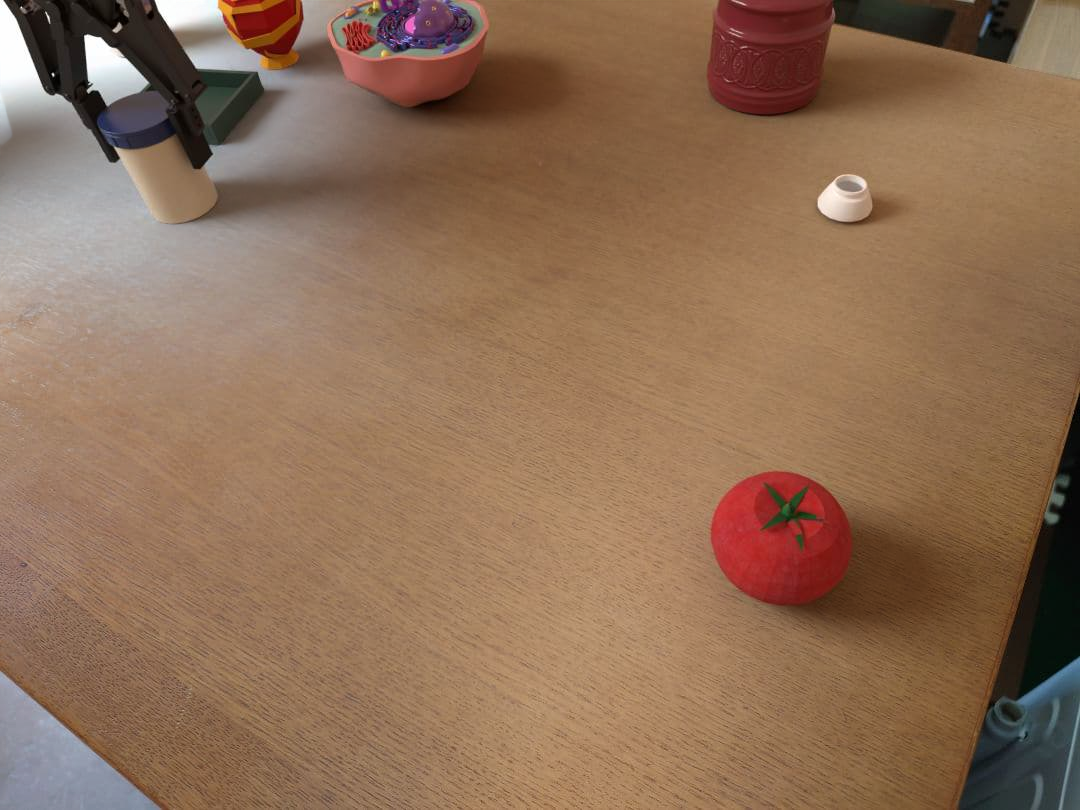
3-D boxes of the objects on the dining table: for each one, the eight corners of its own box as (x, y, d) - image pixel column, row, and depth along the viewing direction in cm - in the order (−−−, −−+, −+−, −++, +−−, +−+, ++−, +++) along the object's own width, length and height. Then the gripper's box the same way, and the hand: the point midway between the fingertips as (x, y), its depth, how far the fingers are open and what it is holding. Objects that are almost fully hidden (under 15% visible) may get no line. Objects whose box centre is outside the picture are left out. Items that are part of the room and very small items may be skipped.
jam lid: (90, 146, 76) (80, 131, 75) (132, 104, 81) (124, 88, 80) (159, 151, 75) (151, 136, 73) (198, 108, 79) (191, 92, 78)
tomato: (825, 644, 49) (856, 588, 43) (690, 598, 52) (700, 539, 46) (848, 529, 54) (878, 465, 48) (723, 493, 57) (737, 427, 51)
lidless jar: (817, 223, 75) (871, 227, 74) (823, 198, 73) (879, 201, 72) (816, 192, 78) (868, 195, 77) (822, 166, 76) (876, 169, 75)
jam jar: (138, 220, 83) (87, 134, 75) (172, 181, 88) (128, 95, 80) (197, 226, 82) (152, 138, 74) (229, 185, 86) (189, 98, 78)
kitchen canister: (723, 53, 97) (741, -109, 83) (829, 68, 93) (867, -99, 79) (690, 106, 90) (705, -61, 76) (804, 125, 85) (841, -47, 72)
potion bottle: (324, 67, 102) (287, -57, 90) (245, 87, 100) (197, -38, 88) (311, 34, 108) (275, -87, 97) (237, 51, 106) (191, -69, 95)
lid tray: (123, 137, 94) (112, 118, 92) (174, 85, 102) (165, 66, 100) (219, 145, 92) (210, 125, 90) (264, 91, 99) (257, 71, 97)
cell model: (390, 47, 104) (369, -44, 95) (522, 71, 97) (513, -24, 89) (314, 111, 95) (283, 18, 86) (454, 143, 88) (436, 45, 80)
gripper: (-106, -65, 63) (50, 172, 81) (127, -63, 59) (238, 187, 76) (-43, -100, 68) (91, 132, 85) (177, -100, 63) (272, 144, 81)
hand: (161, 158), depth 81 cm, fingers open, 9 cm apart
